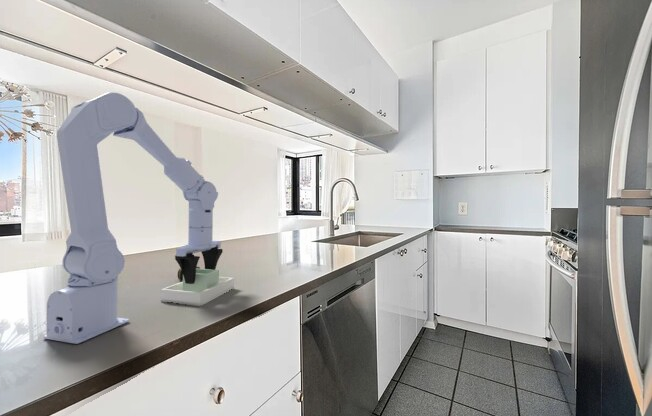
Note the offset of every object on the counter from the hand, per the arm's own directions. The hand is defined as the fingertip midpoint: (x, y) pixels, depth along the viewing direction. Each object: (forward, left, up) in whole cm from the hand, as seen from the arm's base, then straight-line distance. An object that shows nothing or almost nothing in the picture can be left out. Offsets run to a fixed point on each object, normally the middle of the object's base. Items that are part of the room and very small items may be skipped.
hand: (200, 279), depth 72 cm
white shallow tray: (0, 0, -4) cm, 4 cm away
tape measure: (+12, +12, -4) cm, 18 cm away
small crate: (0, 0, -3) cm, 3 cm away
